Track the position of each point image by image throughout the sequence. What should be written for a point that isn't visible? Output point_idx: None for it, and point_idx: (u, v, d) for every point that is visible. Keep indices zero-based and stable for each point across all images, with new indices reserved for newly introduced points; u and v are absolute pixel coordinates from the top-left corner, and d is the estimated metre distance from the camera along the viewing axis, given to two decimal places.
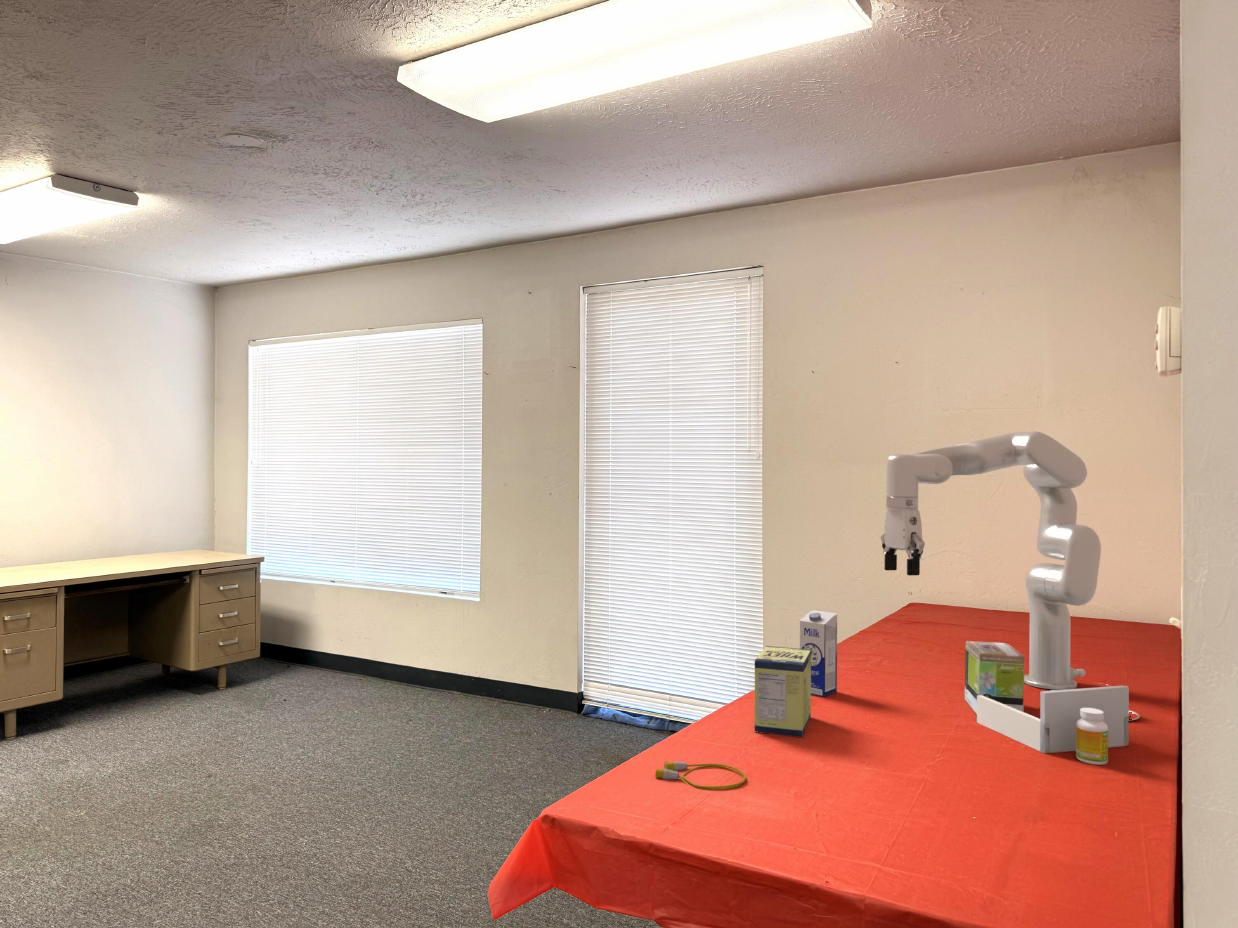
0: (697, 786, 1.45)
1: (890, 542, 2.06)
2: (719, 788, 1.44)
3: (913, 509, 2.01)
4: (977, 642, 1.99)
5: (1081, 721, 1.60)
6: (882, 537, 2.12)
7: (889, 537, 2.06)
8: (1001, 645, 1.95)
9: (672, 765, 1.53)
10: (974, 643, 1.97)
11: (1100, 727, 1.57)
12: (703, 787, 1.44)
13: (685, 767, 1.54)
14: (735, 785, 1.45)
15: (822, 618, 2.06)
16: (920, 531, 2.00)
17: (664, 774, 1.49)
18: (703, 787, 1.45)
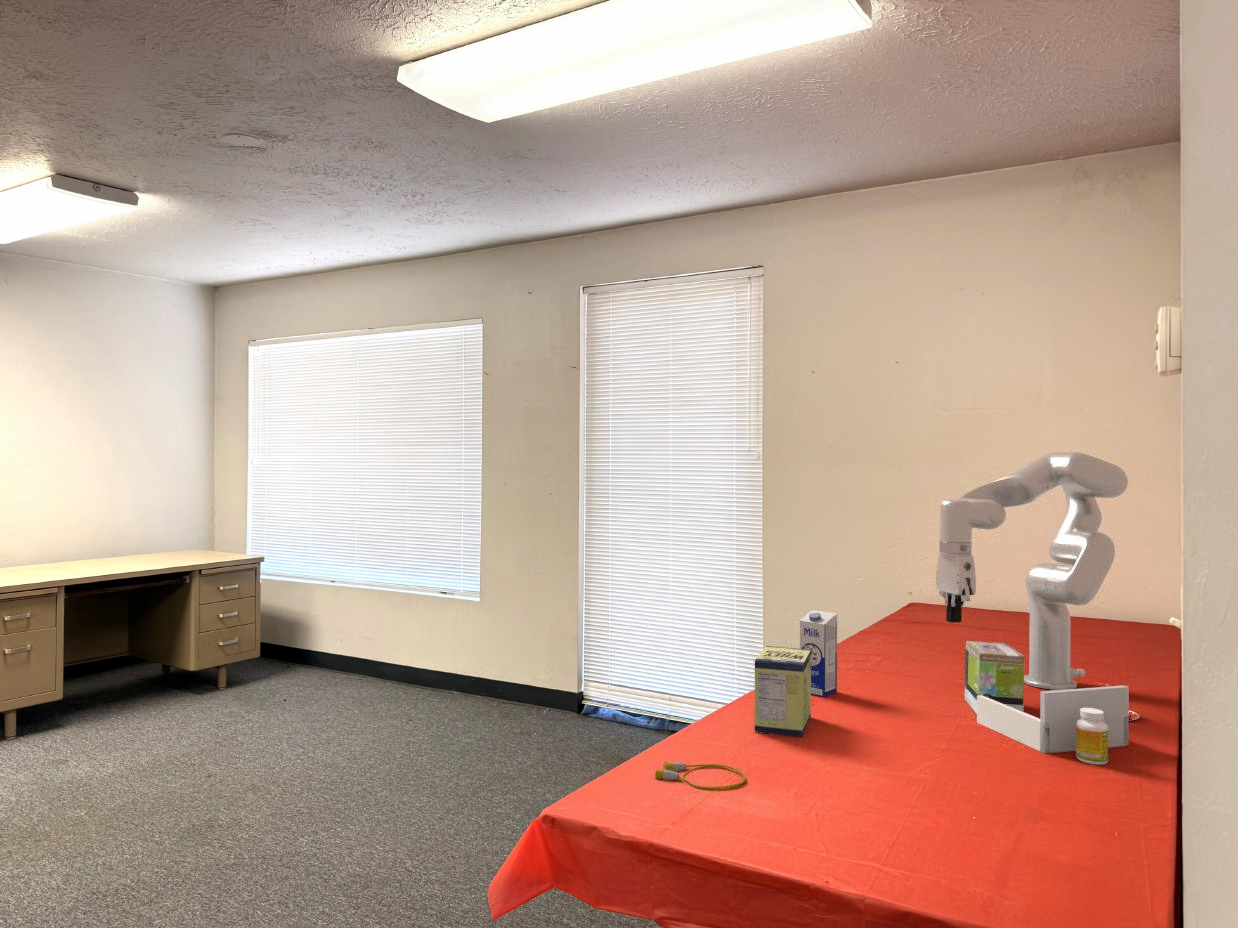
0: (697, 787, 1.45)
1: (942, 586, 2.07)
2: (719, 788, 1.44)
3: (967, 554, 2.03)
4: (977, 642, 1.99)
5: (1081, 721, 1.60)
6: (940, 591, 2.11)
7: (941, 581, 2.08)
8: (1001, 645, 1.95)
9: (672, 766, 1.53)
10: (974, 643, 1.97)
11: (1100, 727, 1.57)
12: (703, 788, 1.44)
13: (684, 768, 1.53)
14: (735, 785, 1.45)
15: (822, 618, 2.06)
16: (973, 577, 2.02)
17: (664, 775, 1.49)
18: (703, 788, 1.44)
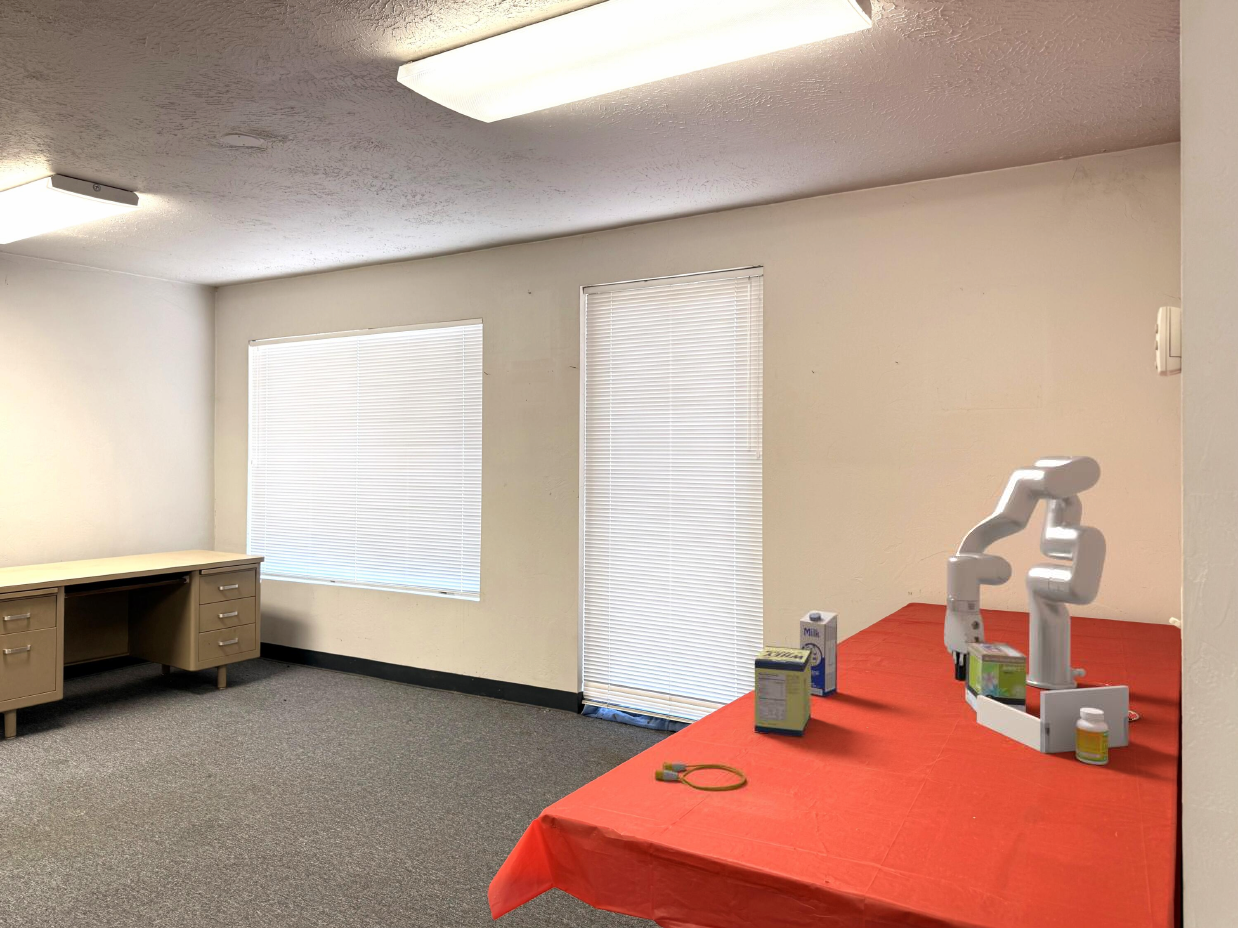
0: (697, 787, 1.45)
1: (950, 644, 2.04)
2: (719, 789, 1.44)
3: (975, 613, 2.00)
4: (978, 642, 1.98)
5: (1081, 721, 1.60)
6: (948, 648, 2.08)
7: (949, 639, 2.05)
8: (1002, 645, 1.95)
9: (671, 766, 1.52)
10: (975, 643, 1.97)
11: (1100, 727, 1.57)
12: (703, 788, 1.44)
13: (684, 768, 1.53)
14: (735, 785, 1.45)
15: (822, 618, 2.06)
16: (982, 636, 1.99)
17: (664, 775, 1.48)
18: (704, 788, 1.44)
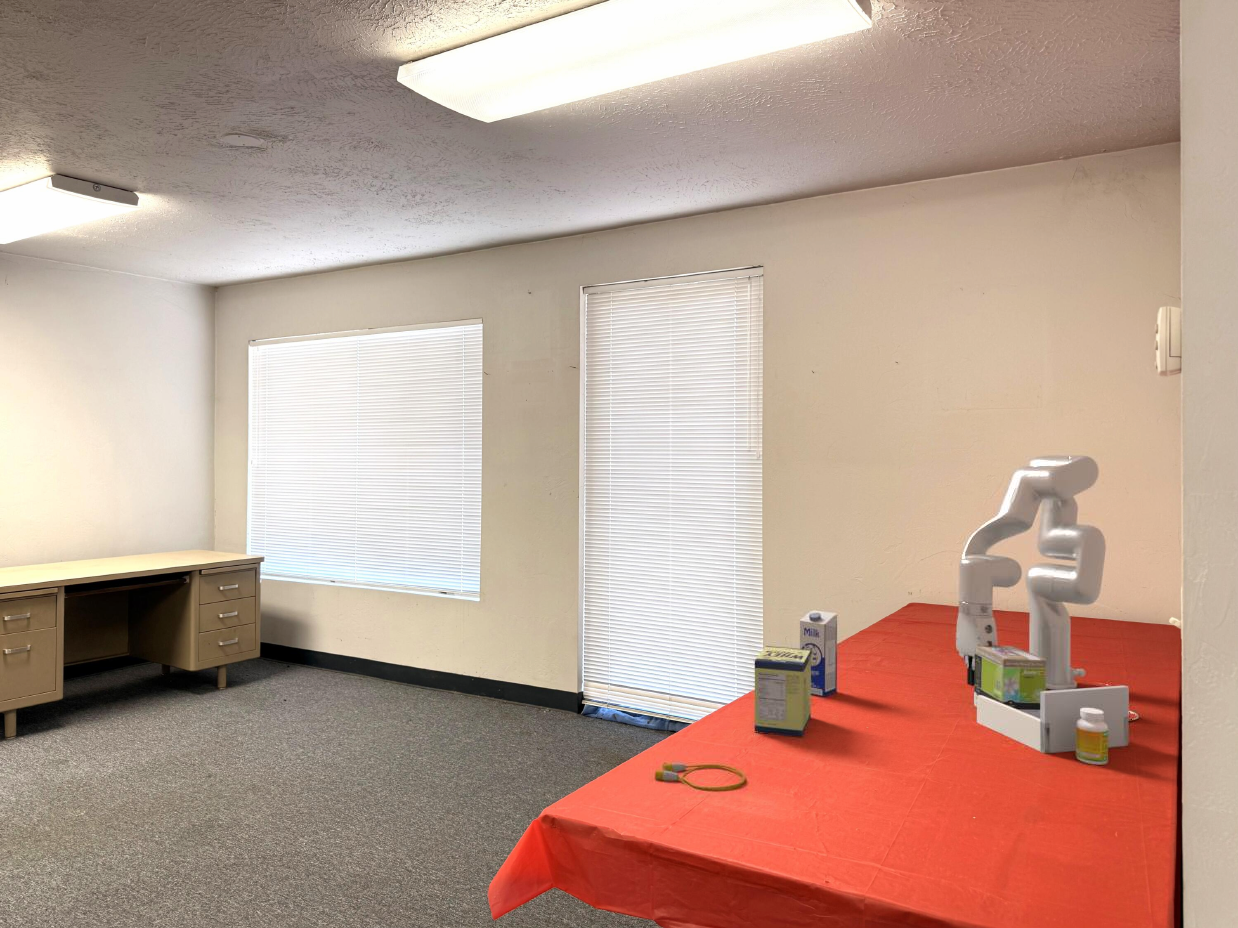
0: (697, 787, 1.45)
1: (963, 648, 2.00)
2: (719, 789, 1.44)
3: (988, 616, 1.95)
4: (987, 646, 1.94)
5: (1081, 721, 1.60)
6: (960, 652, 2.03)
7: (961, 643, 2.00)
8: (1013, 648, 1.91)
9: (671, 766, 1.52)
10: (986, 647, 1.92)
11: (1100, 727, 1.57)
12: (703, 788, 1.44)
13: (684, 768, 1.53)
14: (735, 785, 1.45)
15: (822, 618, 2.06)
16: (995, 640, 1.94)
17: (664, 776, 1.48)
18: (704, 788, 1.44)
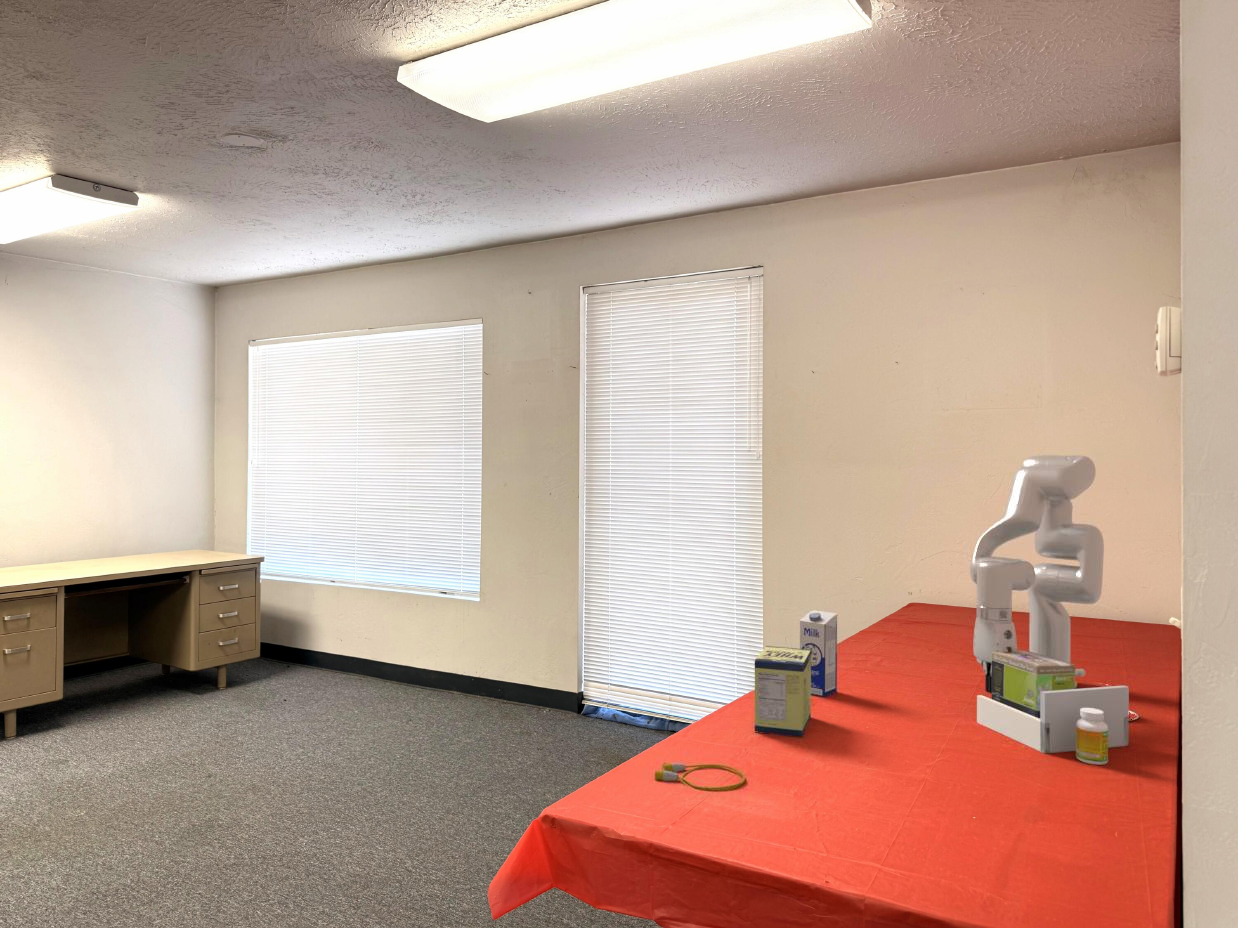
0: (697, 787, 1.44)
1: (981, 654, 1.94)
2: (720, 789, 1.44)
3: (1007, 621, 1.89)
4: (1006, 652, 1.87)
5: (1081, 721, 1.60)
6: (978, 658, 1.97)
7: (979, 649, 1.94)
8: (1032, 654, 1.86)
9: (671, 766, 1.52)
10: (1006, 654, 1.86)
11: (1100, 727, 1.57)
12: (704, 788, 1.44)
13: (683, 768, 1.53)
14: (735, 785, 1.45)
15: (822, 618, 2.06)
16: (1015, 646, 1.88)
17: (663, 776, 1.48)
18: (704, 788, 1.44)
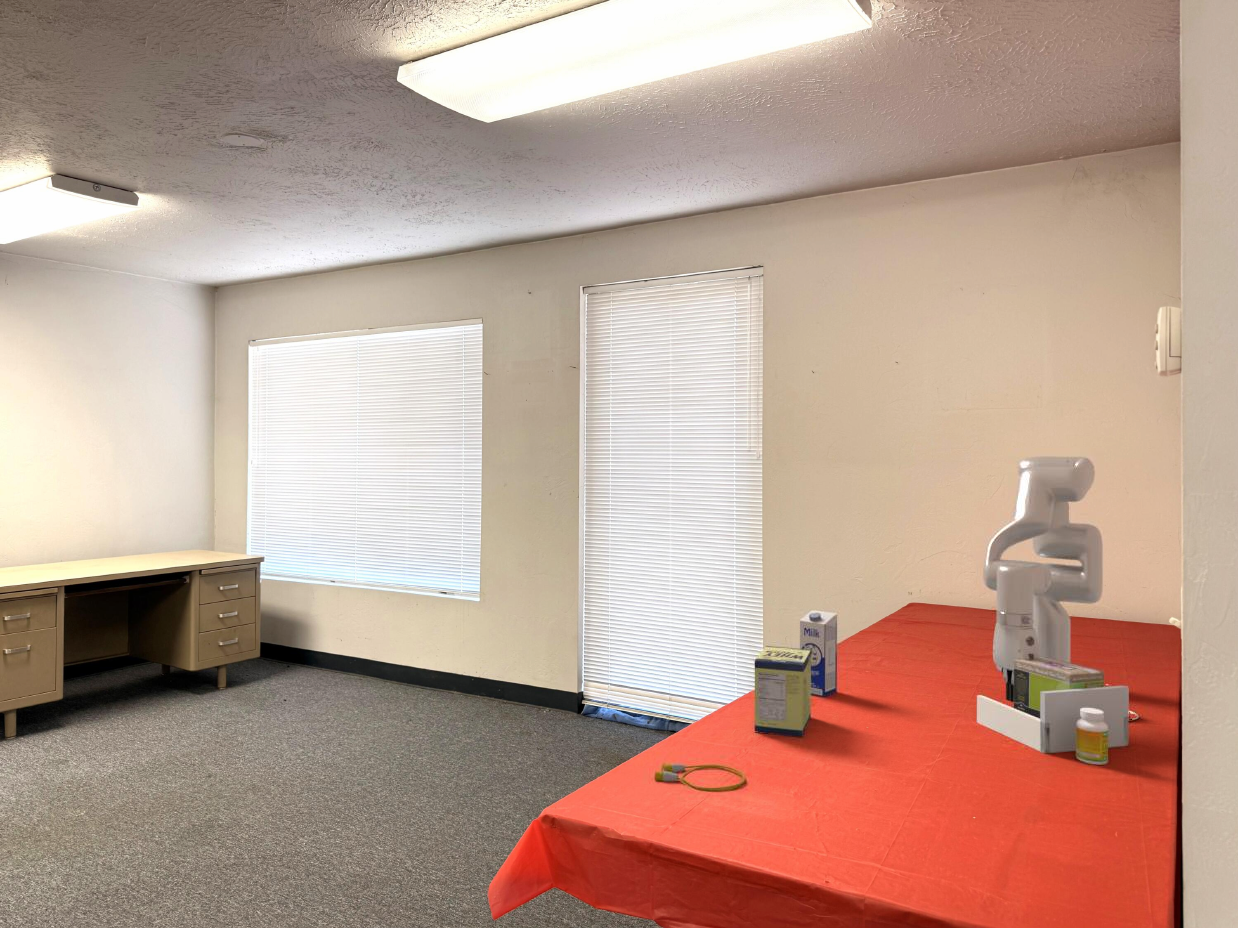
0: (698, 788, 1.44)
1: (1001, 661, 1.87)
2: (720, 789, 1.44)
3: (1029, 627, 1.83)
4: (1028, 660, 1.81)
5: (1081, 721, 1.60)
6: (997, 665, 1.90)
7: (999, 655, 1.87)
8: (1054, 660, 1.80)
9: (670, 767, 1.52)
10: (1030, 662, 1.79)
11: (1100, 727, 1.57)
12: (704, 789, 1.44)
13: (683, 769, 1.53)
14: (735, 786, 1.45)
15: (822, 618, 2.06)
16: (1037, 653, 1.82)
17: (663, 776, 1.48)
18: (704, 789, 1.44)
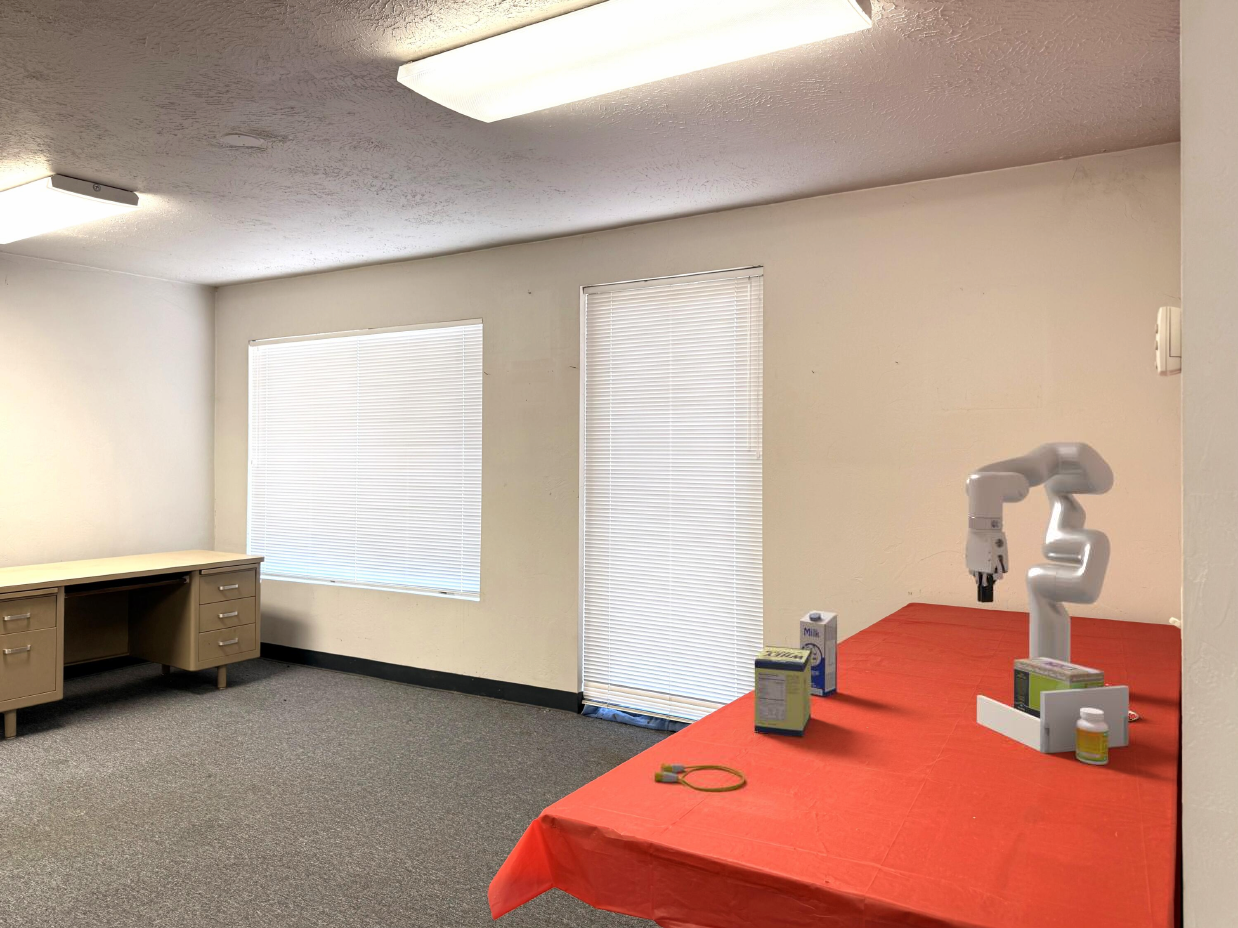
0: (698, 788, 1.44)
1: (973, 564, 1.97)
2: (720, 790, 1.44)
3: (998, 531, 1.92)
4: (1028, 660, 1.81)
5: (1081, 721, 1.60)
6: (970, 570, 2.00)
7: (971, 560, 1.97)
8: (1054, 661, 1.80)
9: (669, 768, 1.52)
10: (1030, 662, 1.79)
11: (1100, 727, 1.57)
12: (704, 789, 1.44)
13: (682, 769, 1.53)
14: (735, 786, 1.45)
15: (822, 618, 2.06)
16: (1006, 554, 1.91)
17: (663, 777, 1.47)
18: (704, 789, 1.44)
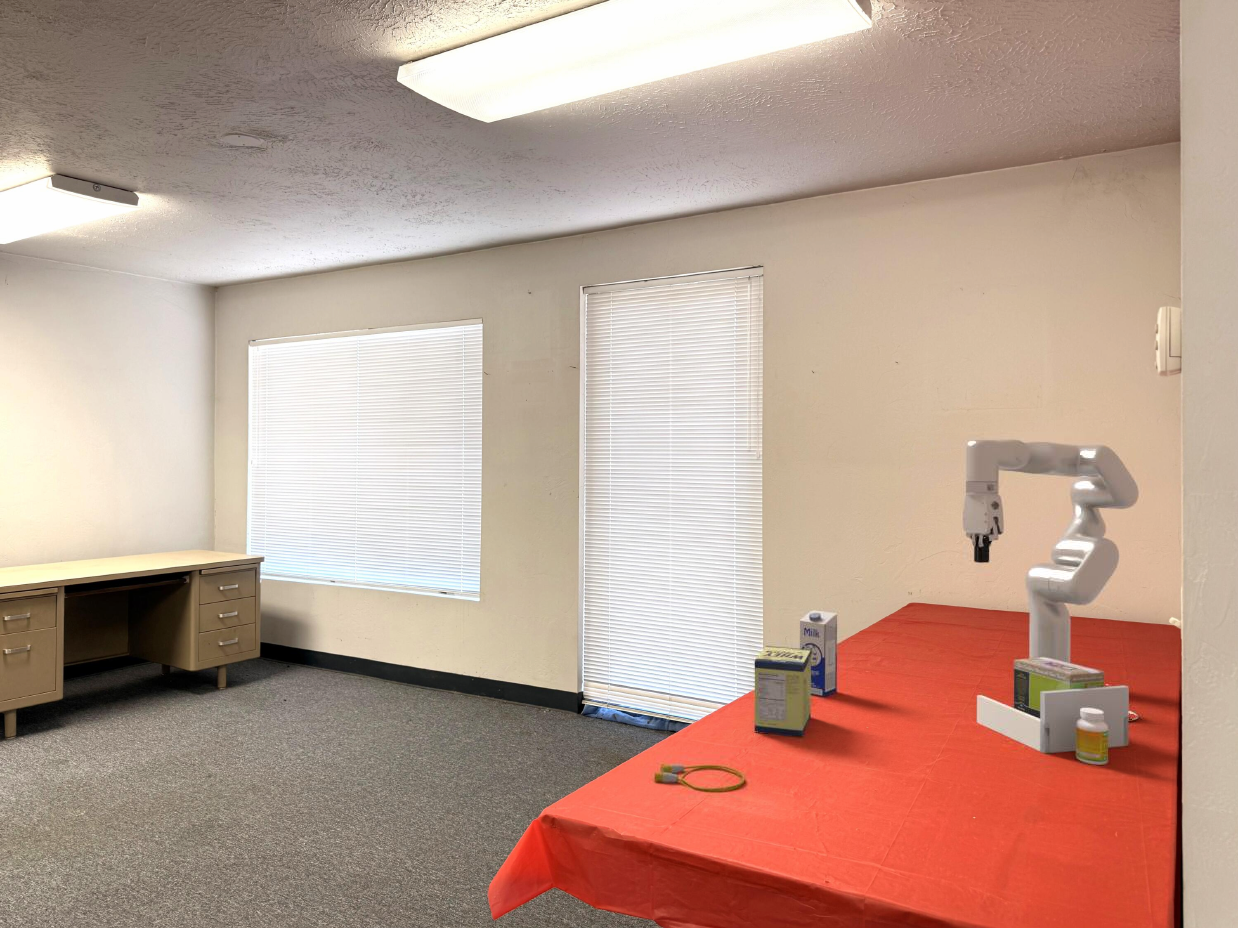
0: (698, 788, 1.44)
1: (970, 527, 2.07)
2: (720, 790, 1.44)
3: (994, 494, 2.03)
4: (1028, 660, 1.81)
5: (1081, 721, 1.60)
6: (967, 533, 2.10)
7: (968, 522, 2.07)
8: (1055, 661, 1.80)
9: (669, 768, 1.52)
10: (1030, 662, 1.79)
11: (1100, 727, 1.57)
12: (704, 789, 1.44)
13: (682, 769, 1.52)
14: (736, 786, 1.45)
15: (822, 618, 2.06)
16: (1001, 516, 2.02)
17: (663, 777, 1.47)
18: (704, 790, 1.44)
